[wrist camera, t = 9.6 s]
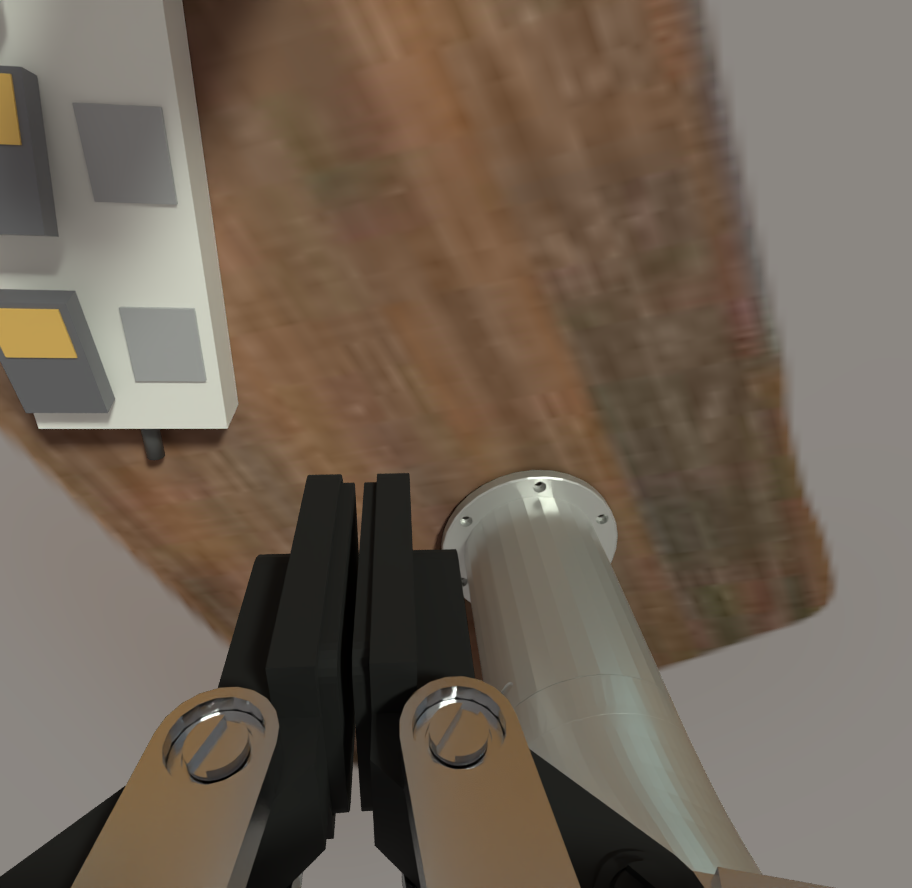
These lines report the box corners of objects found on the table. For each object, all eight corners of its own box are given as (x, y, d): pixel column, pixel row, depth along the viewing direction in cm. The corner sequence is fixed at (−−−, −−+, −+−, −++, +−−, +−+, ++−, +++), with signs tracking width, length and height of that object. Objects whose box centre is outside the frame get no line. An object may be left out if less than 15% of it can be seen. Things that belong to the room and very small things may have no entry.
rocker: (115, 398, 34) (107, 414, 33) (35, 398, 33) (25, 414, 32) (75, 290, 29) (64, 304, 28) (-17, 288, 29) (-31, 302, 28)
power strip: (244, 447, 40) (233, 475, 37) (75, 447, 39) (52, 476, 36) (146, -255, 24) (115, -297, 21) (-143, -286, 23) (-215, -335, 20)
